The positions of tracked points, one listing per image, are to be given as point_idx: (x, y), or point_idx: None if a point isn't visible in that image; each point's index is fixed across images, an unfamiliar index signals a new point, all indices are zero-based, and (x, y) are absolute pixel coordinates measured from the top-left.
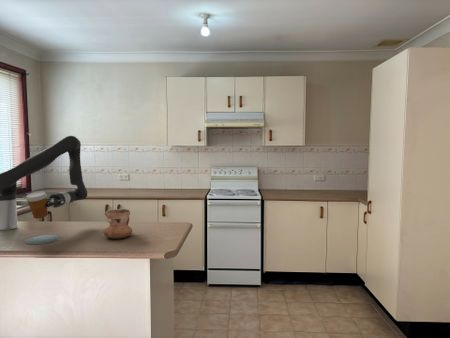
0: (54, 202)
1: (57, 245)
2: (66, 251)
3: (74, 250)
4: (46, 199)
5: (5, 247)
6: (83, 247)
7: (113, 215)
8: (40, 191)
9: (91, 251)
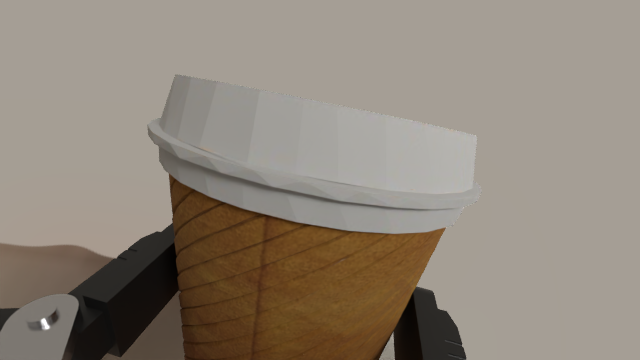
0: (5, 320)
1: (138, 343)
2: (109, 260)
3: (72, 265)
4: (172, 209)
5: (390, 343)
6: (9, 294)
7: None
8: (338, 105)
9: (6, 246)
